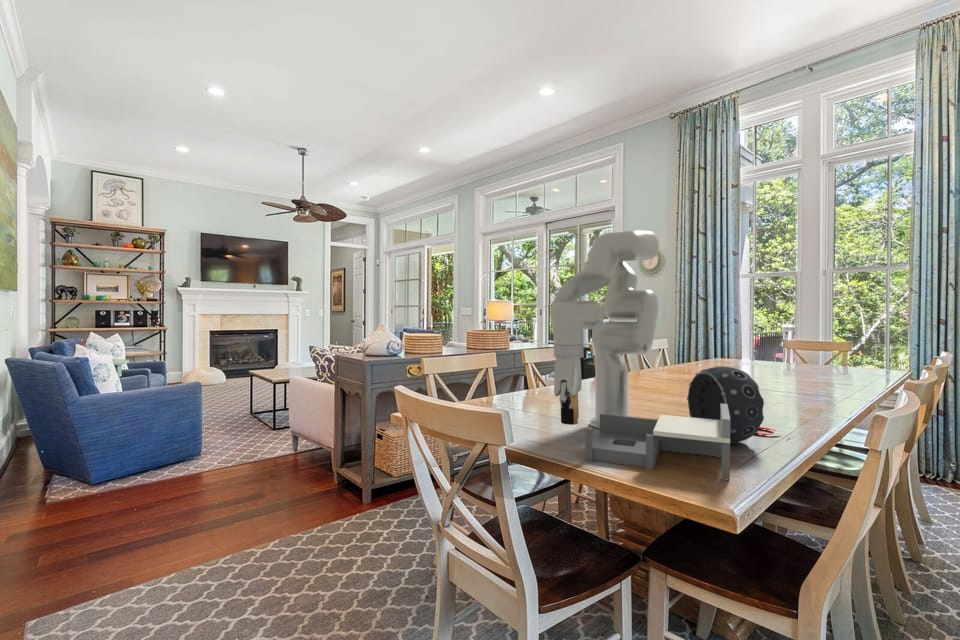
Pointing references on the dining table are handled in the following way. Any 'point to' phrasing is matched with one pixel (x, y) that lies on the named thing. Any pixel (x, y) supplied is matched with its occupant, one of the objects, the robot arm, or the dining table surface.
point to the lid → (695, 427)
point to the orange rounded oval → (575, 406)
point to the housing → (644, 443)
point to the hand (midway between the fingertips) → (569, 420)
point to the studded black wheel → (727, 399)
